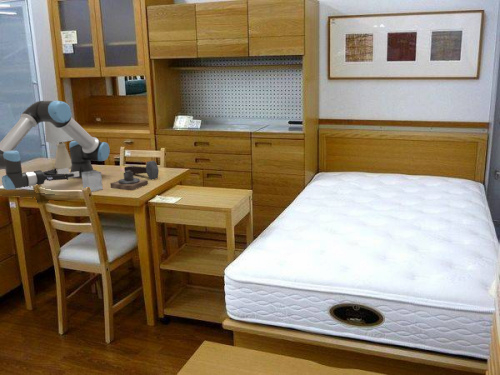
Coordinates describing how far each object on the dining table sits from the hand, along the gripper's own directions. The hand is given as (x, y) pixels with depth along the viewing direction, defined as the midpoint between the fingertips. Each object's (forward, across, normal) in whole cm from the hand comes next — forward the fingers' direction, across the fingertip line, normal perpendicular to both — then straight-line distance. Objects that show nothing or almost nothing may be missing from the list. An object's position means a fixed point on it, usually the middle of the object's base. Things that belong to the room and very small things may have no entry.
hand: (73, 172), depth 275 cm
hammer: (+46, -9, -12) cm, 49 cm away
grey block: (+10, 0, -12) cm, 16 cm away
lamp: (+22, -72, -11) cm, 76 cm away
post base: (+28, +9, -12) cm, 32 cm away
